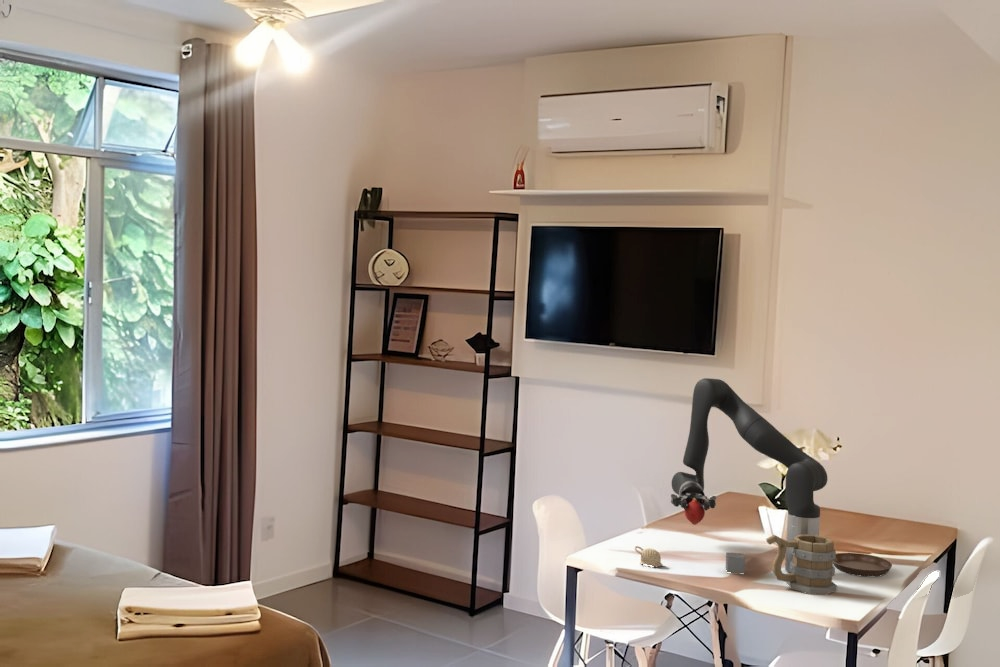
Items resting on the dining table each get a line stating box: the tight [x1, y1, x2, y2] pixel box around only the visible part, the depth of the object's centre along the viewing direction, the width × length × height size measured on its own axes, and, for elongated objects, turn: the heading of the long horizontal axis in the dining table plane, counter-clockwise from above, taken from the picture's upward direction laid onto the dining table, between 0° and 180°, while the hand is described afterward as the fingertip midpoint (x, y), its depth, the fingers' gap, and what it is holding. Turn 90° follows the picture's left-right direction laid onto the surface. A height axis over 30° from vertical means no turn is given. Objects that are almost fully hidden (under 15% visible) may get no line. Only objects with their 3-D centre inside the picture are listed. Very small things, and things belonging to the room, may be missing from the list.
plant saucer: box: [833, 552, 893, 577], centre depth 298 cm, size 18×18×3 cm
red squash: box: [684, 498, 706, 526], centre depth 293 cm, size 6×6×8 cm
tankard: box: [765, 534, 838, 595], centre depth 278 cm, size 20×13×15 cm, turn 92°
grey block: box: [725, 552, 746, 573], centre depth 292 cm, size 5×5×5 cm
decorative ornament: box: [634, 545, 663, 567], centre depth 296 cm, size 4×8×5 cm, turn 62°
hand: (695, 506), depth 290 cm, fingers closed on red squash, 5 cm apart
